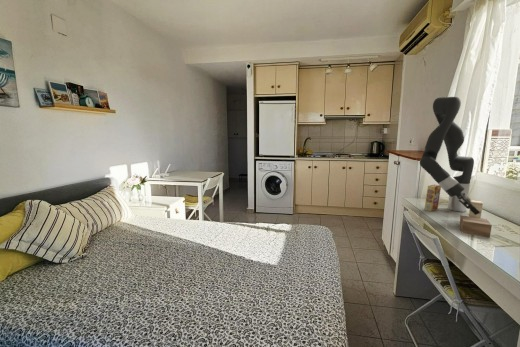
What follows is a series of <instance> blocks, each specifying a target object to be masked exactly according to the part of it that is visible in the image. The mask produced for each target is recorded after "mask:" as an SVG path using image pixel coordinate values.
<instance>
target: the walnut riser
mask: <svg viewBox="0 0 520 347" xmlns="http://www.w3.org/2000/svg"><path fill="white" fill-rule="evenodd" d="M458 227H459V229H461V230H460V232H461V231H462V232H463V233H462V232H461V233H462V234H467V233H468V235H473V236H478V237H479V236H481V237H486V238H490V237H491V232H492V224H491V222H490V221H489V220H488V218H483V217H481V218H476V217H469V215H467V216H466V215H463V214H462V215H460V217H459V224H458Z"/></svg>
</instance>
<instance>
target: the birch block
mask: <svg viewBox="0 0 520 347" xmlns="http://www.w3.org/2000/svg"><path fill="white" fill-rule="evenodd" d="M471 204H472V205H474V207H475V208H476V209H477V210H478V211H479V213H478V214H477V215H475V214H474V213H473V212H472V211H471V210H470V209H469V211H468V212H469V213H468V216H469V217H476V218H482V211H483V204H484V202H483V201H480V200H473V199H471Z"/></svg>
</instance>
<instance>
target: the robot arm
mask: <svg viewBox="0 0 520 347" xmlns="http://www.w3.org/2000/svg"><path fill="white" fill-rule="evenodd" d="M461 104H462V102H461V99H460V97H458V96H441V97H440V96H439V97H436V98H435V100H434V101H433V103H432V111H433V114H434V116H435V118H436V121H437V122H438V126H437V127H436V128H435V129H434V130H432V132H430V134H429V136H428V137H427V141H426V144H425V146H424V151H423V153H422V156H421V158H420V160H419V165H420V167H421V168H422V169H423V170H424V171H425V172H426V173H428V174H429V175H430V176H431V178H432V179H433V180H434V181H435V182H436V183H437V185H440V186H441V189H442V190H443V191H444V192H445V193H446V194H447V195H448V198H447V199H448V201H447V206H446V207H447V210H450V211H454V212H461V213H462V212H464V213H465V212H467V209H468V210H469V211H470V210H471V211H472V212H473V213H474V214H475V215H477V214H478V213H479V211H478V210H477V209H476V208H475V207H474V205H472V204H471V200H472V199H471V198H470V197H469V192H470V187H471V185H470V183H471V180H472V175H473V172H474V166H475V160H474V158H473V157H472V156H465V155H464V156H463V155H461V156H460V155H458V150H459V149H460V148H461V147H462V145H463V144H464V142H465V135H464V132H463V129H462V127H460V125H459V124H457V123H456V121H454V120H455V119H456V117H457V115H458V113H459V111H460V109H461V106H462V105H461ZM443 142H444V145H445V148H446V149H445V150H446V152H447V156H448V157H447V158H448V164H449V168H450V170H452V171H455V172H460V173H461V172H462V174H460V175H458V176H457V175H456V176H452V175H451V174H450V173H449V172H448V171H447V170H445V168H443V167H442V166H441V165H440V164H439V162H438V161H436V160H437V158H438V154H439V152H440V150H441V147H442V145H443Z"/></svg>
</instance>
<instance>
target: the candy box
mask: <svg viewBox="0 0 520 347" xmlns="http://www.w3.org/2000/svg"><path fill="white" fill-rule="evenodd" d="M441 189H442V188H441V186H440V185H439V184H432V185H428V186H427V189H426V197H425V204H424V210H425V211H429V212H432V211H437V210H438V209H439V202H440V198H441V197H440V196H441Z"/></svg>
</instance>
